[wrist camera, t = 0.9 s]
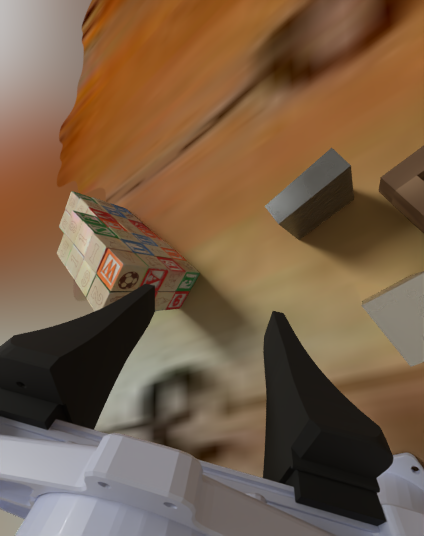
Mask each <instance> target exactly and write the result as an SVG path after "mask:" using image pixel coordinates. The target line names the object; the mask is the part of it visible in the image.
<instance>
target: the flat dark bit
mask: <svg viewBox="0 0 424 536" xmlns="http://www.w3.org/2000/svg"><path fill="white" fill-rule="evenodd" d="M353 200H354V194H353V184H352V173H351V165H350V164H349V163H347V162H346V161H345V160H344V159H343V158H342V157H341V156H340V155H339V154H338V153H337V152H336V151H335V150H334V149H332V148H331V149H330V150H329V151H327V152H326V153H325V154H324V155H323V156H322V157H320V158H319V159H318V160H317V161H316V162H315V163H314V164H312V165H311V166H310V167H309V168H308V169H307V170H306V171H304V172H303V173H302V174H301V175H300V176H299V177H298V178H296V179H295V180H294V181H293V182H292V183H291V184H290V185H288V186H287V187H286V188H285V189H284V190H283V191H282V192H280V193H279V194H278V195H277V196H276V197H275V198H274V199H272V200H271V201H270V202H269V203H268V204H267V205H266V206H265V207H266V208H267V210H268V211H269V212H270V214H271V215H272V216H273V218H274V219H275V220H276V221H277V223H278V224H279V225H280V226H282V227H283V228H284V229H286V230H287V231H288V232H289V233H291V234H292V235H293V236H295V237H296V238H297V239H298V240H300V239H301V238H302V237H304V236H305V235H307V234H308V233H309V232H311V231H312V230H313V229H315V228H316V227H317V226H319V225H320V224H321V223H323V222H324V221H326V220H327V219H328V218H330V217H331V216H332V215H334V214H335V213H336V212H338V211H339V210H340V209H342V208H343V207H345V206H346V205H347V204H349V203H350V202H351V201H353Z"/></svg>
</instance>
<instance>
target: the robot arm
mask: <svg viewBox="0 0 424 536" xmlns="http://www.w3.org/2000/svg"><path fill="white" fill-rule="evenodd" d="M154 312H155V285H150V284H144V285H142V286H140V287H139V288H137V289H136V290H134V291H132V292H131V293H129V294H127V295H125V296H124V297H122V298H120V299H119V300H117V301H115V302H113V303H111V304H109V305H107V306H105V307H103V308H101V309H99V310H97V311H95V312H92V313H90V314H88V315H86V316H83V317H80V318H77V319H74V320H72V321H69V322H66V323H63V324H60V325H56V326H53V327H49V328H45V329H41V330H37V331H33V332H28V333H24V334H19V335H14V336H13V337H12V338H10V339H9V340H8V341H6V342H5V343H4V344H3V345H1V346H0V509H1V510H3V511H6V512H8V513H10V514H13V515H15V516H18V517H20V518H23V519H25V520H24V521H23V523H22V525H21V526H20V528H19V529H18V531H17V533H16V534H15V536H424V468H423V467H422V465H421V464H420V463H419V461H418V460H417V458H416V457H415V456H414V455H412V454H410V453H401V454H397V455H392V453H391V450H390V448H389V445H388V443H387V440H386V438H385V436H384V434H383V432H382V430H381V428H380V427H379V426H378V425H377V424H376V423H374V422H373V421H372V420H371V419H370V418H368V417H367V416H366V415H365V414H364V413H363V412H361V411H360V410H359V409H358V408H357V407H356V406H355V405H354V404H353V403H351V402H350V401H349V400H348V399H347V398H346V397H345V396H344V395H343V394H342V393H341V392H340V391H339V390H338V389H337V388H336V387H335V386H334V385H333V384H332V383H331V382H330V380H329V379H328V378H327V377H326V376H325V375H324V374H323V373H322V371H321V370H320V369H319V368H318V366H317V365H316V364H315V363H314V361H313V360H312V359H311V358H310V356H309V355H308V353H307V352H306V350H305V349H304V347H303V346H302V344H301V343H300V341H299V339H298V338H297V336H296V335H295V333H294V331H293V329H292V328H291V326H290V324H289V322H288V320H287V319H286V317H285V315H284V313H280V312H276V311H273V312H272V315H271V318H270V321H269V324H268V327H267V329H266V332H265V335H264V366H265V379H266V394H267V403H266V436H265V456H264V471H263V478H261V477H257V476H254V475H250V474H247V473H243V472H240V471H236V470H233V469H229V468H226V467H222V466H219V465H215V464H212V463H208V462H205V461H201V460H198V459H196V458H195V457H193V456H192V455H190V454H188V453H185V452H183V451H181V450H177V449H174V448H170V447H167V446H163V445H160V444H156V443H153V442H149V441H146V440H142V439H139V438H135V437H132V436H128V435H124V434H118V433H112V434H106V433H103V432H99V431H96V430H94V428H95V426H96V423H97V421H98V419H99V416H100V414H101V412H102V410H103V407H104V405H105V403H106V401H107V399H108V396H109V394H110V392H111V390H112V388H113V386H114V384H115V382H116V380H117V378H118V376H119V374H120V372H121V370H122V368H123V366H124V364H125V362H126V360H127V358H128V357H129V355H130V353H131V352H132V350H133V349H134V347H135V346H136V344H137V343H138V341H139V339H140V338H141V336H142V335H143V333H144V332H145V330H146V328H147V327H148V325H149V323H150V321H151V319H152V317H153V315H154ZM412 466H415V467H417V468H418V469H419V470H418V471H415V470H413V469H412V468H411V467H412Z"/></svg>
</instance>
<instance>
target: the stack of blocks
mask: <svg viewBox="0 0 424 536" xmlns="http://www.w3.org/2000/svg"><path fill="white" fill-rule="evenodd" d="M59 228H60V229H61V230H62V231H63V233H64V235H63V238H62V241H61V243H60V246H59V249H58V251H57V255H58V256H59V258H60V259H61V261H62V262H63V264H64V265H65V266H66V268H67V270H68V271H69V272H70V274H71V275H72V277H73V278H74V279H75V281H76V283H77V285H78V286H79V287H80V289H81V291H82V292H83V294H84V295H85V296H86V297H87V300H88V302H89V304H90V305H91V307H92V308H93V310H94V311H97V310H99V309H101V308H103V307H105V306H107V305H109V304H111V303H113V302H115V301H117V300H119V299H120V298H122V297H124V296H125V295H127V294H129V293H131V292H132V291H134V290H136V289H137V288H139V287H140V286H142V285H144V284H150V285H155V311H159V310H170V309H179V308H180V307H181V306H182V304H183V302H184V300H185V299H186V297H187V295H188V293H189V291H190V289H191V288H192V286H193V284H194V283H195V281H196V279H197V277H198V276H199V274H200V273H199V272H198V271H197V270H196V269H195V268H194V267H193V266H192V265H190V264H189V263H188V262H187V261H186V260H185V259H184V258H183V257H182V256H181V255H180V254H179V253H177V252H176V251H175V250H174V249H173V248H172V247H171V246H169V245H168V244H167V243H166V242H165V241H164V240H161V239H160V238H159V237H158V236H157V235H156V234H154V233H153V232H151V231H150V230H149V229H148V228H147V227H146V226H145V225H143V224H142V222H141V221H140V220H138V219H137V218H136V217H135V216H134V215H132V214H131V213H130V212H129V211H128V210H127V209H125V208H123V207H120V206H117V205H114V204H111V203H108V202H105V201H102V200H99V199H96V198H91V197H88V196H85V195H82V194H79V193H76V192H73V191H72V192H71V194H70V197H69V200H68V202H67V205H66V208H65V212H64V215H63V217H62V220H61V223H60V225H59Z"/></svg>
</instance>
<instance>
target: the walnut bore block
mask: <svg viewBox="0 0 424 536" xmlns="http://www.w3.org/2000/svg"><path fill="white" fill-rule="evenodd" d="M379 192H380V193H381V194H382V195H383V196H384V197H385V198H386V199H387V200H389V201H390V202H391V203H392V204H393V205H394V206H395V207H396V208H397V209H398V210H399V211H400V212H401V213H403V214H404V215H405V216H406V217H407V218H408V219H409V220H410V221H411V222H412V223H413V224H414V225H415V226H417V227H418V228H419V229H420V230H421V231H422V232H423V233H424V146H422V147H421V148H420V149H418V150H417V151H416V152H414V153H413V154H412V155H410V156H409V157H408V158H406V159H405V160H404V161H402V162H401V163H400V164H398V165H397V166H396V167H394V168H393V169H391V170H390V171H389V172H387V173H386V174H385V175H383V176H382V177H381V180H380V186H379Z"/></svg>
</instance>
